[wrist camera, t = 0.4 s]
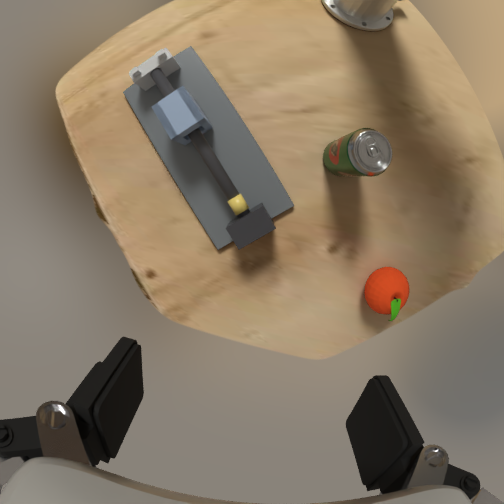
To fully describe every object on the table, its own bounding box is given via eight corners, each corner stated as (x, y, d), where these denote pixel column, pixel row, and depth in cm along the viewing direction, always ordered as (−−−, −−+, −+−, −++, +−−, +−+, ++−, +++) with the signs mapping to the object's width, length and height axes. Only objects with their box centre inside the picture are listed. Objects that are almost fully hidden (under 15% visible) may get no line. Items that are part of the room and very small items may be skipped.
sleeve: (167, 117, 33) (151, 106, 27) (194, 99, 32) (183, 85, 26) (185, 145, 34) (171, 139, 28) (213, 127, 33) (204, 117, 27)
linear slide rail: (125, 93, 33) (105, 82, 27) (192, 48, 31) (181, 29, 25) (220, 251, 39) (213, 264, 33) (295, 208, 37) (302, 213, 31)
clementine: (396, 303, 41) (415, 323, 34) (358, 312, 41) (374, 334, 34) (396, 257, 39) (419, 272, 32) (357, 265, 39) (375, 282, 32)
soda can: (330, 181, 36) (361, 183, 25) (316, 147, 35) (342, 134, 23) (361, 169, 36) (402, 168, 24) (348, 136, 34) (384, 121, 23)
